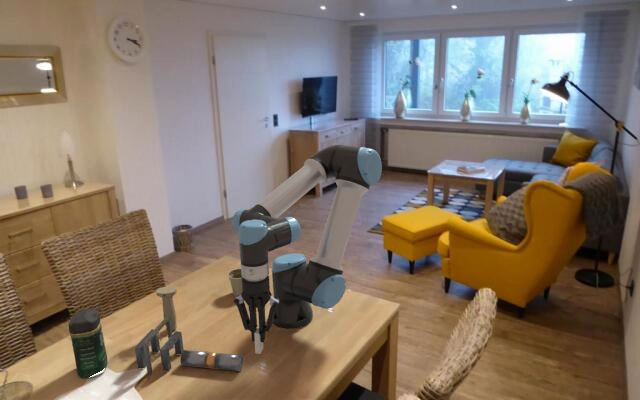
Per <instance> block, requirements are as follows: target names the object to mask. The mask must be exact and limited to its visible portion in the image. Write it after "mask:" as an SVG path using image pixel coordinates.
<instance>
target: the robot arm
mask: <svg viewBox="0 0 640 400" xmlns="http://www.w3.org/2000/svg"><path fill="white" fill-rule="evenodd" d="M382 163H383V162H382V159H381V156H380V154H379V153H378V152H377V150H375V149H373V148H369V147H365V146H353V145H344V144H333V145H331V146H330V145H329V146H327V147H324V148H323V149H321V150H319V151H317V152H316V153H314V154H312V155H311V156H310V157H308V158H307V159H306V160H305V161H304V162H303V166H302V167H301V168H299V170H297V171H296V172H295V173H293V174H292V175H291V176H289V177H288V178H287V179H286V180H285V181H283V182H282V183H281V184H280V185H278V186H277V187H276V188H275V189H274V190H272V191H271V192H270V193H269V194H268V195H266V196H265V197H263V198H262V199H261V200H259V202H257V203H256V204H255V205H253V207H251V208H250V209H246V208H245V209H238V210H237V211H235V213H234V215H233V216H232V220H231V225H232V228H233V230H234V231H235V232H236V233H238V243H239V246H238V247H239V255H240V256H239V257H240V268H241V275H242V290H243V291H242V293H241V295H240V296H239V295H238V296H235V298H234V299H233V302H234V305H236V307H237V310H238V313H239V317H240V319H241V322H242V325H243V328H244V330H245V331H250V334H251V341H252V342H253V343H254V352H255V354H259V355H260V354H262V352H263V350H264V343H265V341H266V339H267V335H266V334H267V333H269V332H270V330H271V329H272V327H273V326H275V327H277V328H279V329H285V330H293V329H295V330H296V329H300V328H303V327H305V326H307V325H308V324H309V325H310V324H311V321H312V320H313V317H314V314H313V307H312V306H311V304H312V305H313V306H314V307H319V308H322V309H325V310H326V309H331V308H334V307H335V306H336V305H337V304H338V303H339V302H340V301H341V300H342V298H343V297H344V295H345V293H346V289H347V281H346V277H344V276H343V273H344V268H343V267H342V261H343V258H344V255H345V251H346V248H347V245H348V242H349V239H350V235H351V233H352V229H353V226H354V223H355V219H356V217H357V213H358V210H359V206H360V203H361V200H362V197H363V196H364V194H366V193H368V192H369V190H370V187H371V186H373V185H376V184H378V182H379V180H380V179H381V176H382V171H383V165H382ZM329 179H335V180H334V181H335V182H334V183H336V186H337V189H336V192H335V195H334V198H333V201H332V204H331V208H330V211H329V213H328V217H327V220H326V223H325V226H324V229H323V233H322V235H321V238H320V242H319V245H318V248H317V251H316V254H315V256H314V257H311V258H310V259H309V261H308V263H307V258H306V256H305V255H304V254H302V253H287V254H283V255H280V256H277V257H276V258H274V260H273V261H272V265H271V266H272V267H271V268H272V270H271V276H272V277H271V279H272V288H273V290H272V292H273V296H272V293H271V290H270V289H271V288H270V276H269V275H270V267H269V266H270V265H269V252H273V251H274V250H278V249H280V248H282V247H285V246H288V245H291V244H292V243H294V242H296V241H298V240H299V238H300V237H301V234H302V232H301V230H302V229H301V226H300V223H299V221H298V220H297V219H296V218H294V217H293V216H287V217H286V216H285V217H282V218H279V217H280V216H282V215H283V214H284V213H285V212H286V211H287V210H288V209H289V208H291V207H292V206H293V205H294V204H296V203H297V202H298V201H299V200H301V198H302V197H304V195H306V194H307V193H309V192H310V190H312V189H313V188H314V187H315V186H317V184H323V183H324V182H326V181H327V180H329ZM268 302H269V305H270V308H269V311H268V315H267V320H266V305H267V304H268ZM246 305H247V306H248V310H247V307H246ZM248 312H249V313H248ZM257 314H258V316H257ZM252 342H251V343H252Z"/></svg>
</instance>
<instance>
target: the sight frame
mask: <svg viewBox="0 0 640 400" xmlns="http://www.w3.org/2000/svg"><path fill="white" fill-rule="evenodd" d="M165 324H166V325H165ZM166 326H167V329H166V332H167V337H168V338H167V340H168V339H169V338H170V337H171V336H172V335H173V331H172V328H171V320H170V316H166V318H165V319H164V318H163V320H162V321H161V322H159V324H157V326H156V327H155V328H154V330H153V331H152V332H151V334H150V335H149V336H148V337H147V338H146V339H145V340H144V341H143V347H144V354H145V360H146V372H147V375H148V376H151V375H152V374H153V372H154V371H153V366H152V365H153V364H152V360H151V359H152V358H151V354H150V353H151V352H150V347H149V345H150V343H151V342H150V341H151V340H152V338H153V337H154V336H155V335H156V338H157V339H159V340H160V339H161V334H160V331H161V330H162V329H163V328H164V327H166ZM149 342H150V343H149ZM148 343H149V344H148ZM173 348H175V346H174V345H173V347H172V348H171V349H173Z"/></svg>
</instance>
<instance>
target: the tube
mask: <svg viewBox="0 0 640 400" xmlns="http://www.w3.org/2000/svg"><path fill="white" fill-rule="evenodd" d="M179 360H180V361H179V363H180V365H181V366H183V367H184V366H185V367H195V368H203V369H204V368H205V369H206V368H207V369H217V370H225V371H227V370H228V371H237V372H241V371H242V369H243V366H244V356H243V354H236V353H235V354H233V353H232V354H231V353H225V352H224V353H223V352H211V351H201V350H200V351H198V350H188V349H184V351H183V352H182V354H181V355H180V359H179Z"/></svg>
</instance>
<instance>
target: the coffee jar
mask: <svg viewBox="0 0 640 400" xmlns="http://www.w3.org/2000/svg"><path fill="white" fill-rule="evenodd" d="M67 327H68V332H69V336H70V341H71V345H72V351H73V355H74V359H75V361H74V362H75V366H76V367H75V368H76V373H77V377H78V378H80V379H90V378H89V377H90V376H92V375H94V374H96V373H98V372H100V371H102V370H103V369H104V368H106V369H107V367H108V363H109V361H108V360H109V359H108V355H107V354H108V353H107V348H106V345H105V339H104V334H103V327H102V318H101V315H100V311H99V310H97V309H96V308H93V307H90V308H83V309H78V311H75V313H74V314H72V316H71V318H70V320H69V322H68V326H67Z"/></svg>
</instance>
